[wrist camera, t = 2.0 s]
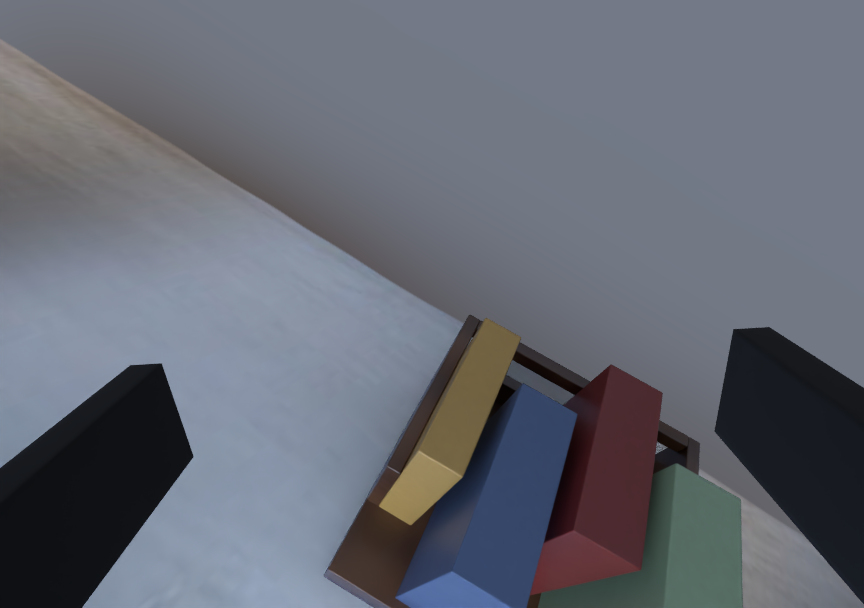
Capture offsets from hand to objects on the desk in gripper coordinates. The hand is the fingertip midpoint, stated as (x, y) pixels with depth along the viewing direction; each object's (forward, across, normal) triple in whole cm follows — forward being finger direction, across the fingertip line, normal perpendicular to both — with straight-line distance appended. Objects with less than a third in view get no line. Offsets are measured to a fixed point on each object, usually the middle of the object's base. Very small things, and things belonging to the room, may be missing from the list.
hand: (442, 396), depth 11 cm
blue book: (+11, -1, -16) cm, 20 cm away
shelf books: (+14, +1, -15) cm, 21 cm away
